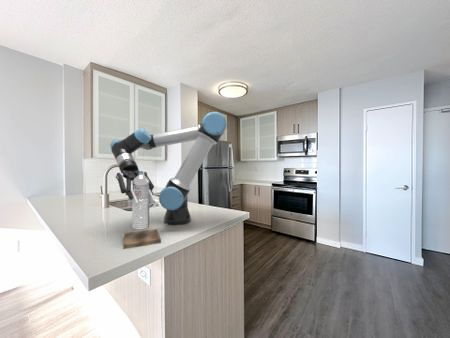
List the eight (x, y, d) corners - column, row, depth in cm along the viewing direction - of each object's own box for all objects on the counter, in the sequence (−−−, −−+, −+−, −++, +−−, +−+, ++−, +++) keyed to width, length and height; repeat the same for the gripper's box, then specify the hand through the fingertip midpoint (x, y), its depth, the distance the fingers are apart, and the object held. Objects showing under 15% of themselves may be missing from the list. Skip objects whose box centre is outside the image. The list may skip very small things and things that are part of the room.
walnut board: (156, 232, 93) (156, 229, 93) (160, 242, 81) (160, 239, 81) (124, 236, 87) (124, 233, 87) (123, 248, 75) (123, 245, 75)
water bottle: (152, 228, 84) (152, 171, 84) (136, 232, 79) (136, 171, 79) (145, 224, 89) (144, 170, 88) (129, 228, 84) (129, 171, 83)
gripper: (144, 170, 101) (161, 205, 91) (102, 170, 85) (117, 212, 75) (149, 159, 97) (168, 195, 87) (106, 158, 82) (123, 201, 72)
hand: (145, 203), depth 81 cm, fingers closed on water bottle, 7 cm apart
